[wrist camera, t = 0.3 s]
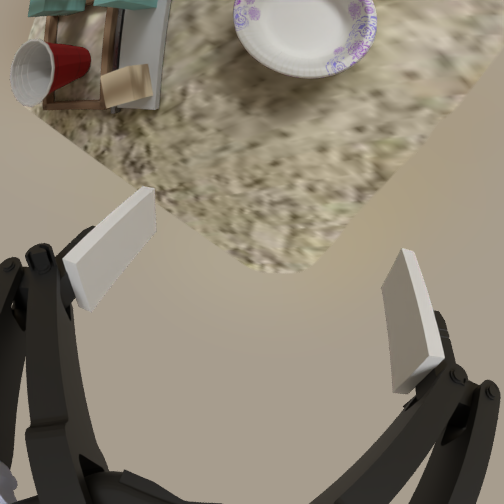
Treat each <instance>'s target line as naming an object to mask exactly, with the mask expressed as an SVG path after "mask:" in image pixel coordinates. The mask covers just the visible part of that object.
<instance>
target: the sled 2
mask: <svg viewBox="0 0 504 504" xmlns="http://www.w3.org/2000/svg"><path fill="white" fill-rule="evenodd" d="M170 5H171V0H94V5H93V6H102V7H112V8H120V9H125V15H124V22H123V30H122V39H121V49H120V61H119V69H121V68H124V67H126V66H132V65H141V64H148V66H149V72H150V78H151V84H152V90H153V96H149V97H145V98H141V99H138V100H134V101H131V102H127V103H124V104H120V105H117V108H135V109H150V110H156V109H159V101H160V88H161V76H162V65H163V56H164V47H165V39H166V31H167V24H168V17H169V11H170Z"/></svg>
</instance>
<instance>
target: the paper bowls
mask: <svg viewBox="0 0 504 504" xmlns="http://www.w3.org/2000/svg"><path fill="white" fill-rule="evenodd" d="M233 21H234V26H235V31H236V34H237V36H238V38H239V40H240V41H241V43H242V45H243V46H244V48H245V49H246V50H247V52H248V53H249V54H250V55H251V56H252V57H253V58H255V59H256V60H257V61H258V62H260V63H261V64H263V65H264V66H266V67H267V68H270V69H272V70H274V71H276V72H278V73H281V74H284V75H287V76H291V77H297V78H306V79H307V78H310V79H312V78H323V77H329V76H333V75H336V74H338V73H341V72H343V71H345V70H347V69H349V68H351V67H352V66H354V65H355V64H356V63H358V62H359V61H360V60H361V59H362V58H363V57H364V56H365V55H366V53H367V52H368V50H369V49H370V47H371V46H372V44H373V41H374V39H375V35H376V30H377V15H376V9H375V6H374V3H373V1H372V0H235V2H234V8H233Z"/></svg>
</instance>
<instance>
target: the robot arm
mask: <svg viewBox="0 0 504 504" xmlns="http://www.w3.org/2000/svg"><path fill="white" fill-rule="evenodd" d="M155 211H156V210H155V188H150V187H145V186H142V187H141V188H140V189H139V190H137V191H136V192H135V193H134V194H133V195H131V196H130V197H129V198H128V199H127V200H126V201H124V202H123V203H122V204H121V205H120V206H118V207H117V208H116V209H115V210H114V211H113V212H111V213H110V214H109V215H108V216H107V217H106V218H105V219H104V220H102V221H101V222H100V223H99V224H98V225H97V226H91V227H89V228H87V229H85V230H83V231H82V232H81V233H80V234H79V235H78V236H77V237H76V238H75V239H73V240H72V241H71V243H69V244H68V245H67V246H66V247H65V248H64V249H63V250H62V251H61V252H60V253H59V254H58V255H57V256H56V257H55V256H54V253H53V250H52V247H51V246H50V245H49V244H46V243H43V244H37V245H35V246H33V247H32V248H30V249H29V250H28V251H27V253H26V255H25V258H26V261H27V263H28V266H29V267H22V264H21V262H20V259H18V258H16V257H12V258H8V259H6V260H4V261H3V262H2V263H1V264H0V504H221V503H201V502H200V503H199V502H188V501H184V500H182V499H180V498H178V497H177V496H175V495H173V494H172V493H170V492H169V491H167V490H165V489H164V488H162V487H161V486H159V485H158V484H156V483H155V482H153V481H150V480H148V479H145V478H143V477H140V476H138V475H136V474H134V473H131V472H129V471H127V470H124V471H123V472H115V471H109V470H108V466H107V464H106V461H105V458H104V456H103V454H102V452H101V451H100V449H99V447H98V445H97V443H96V439H95V435H94V432H93V428H92V424H91V420H90V416H89V412H88V408H87V403H86V398H85V393H84V388H83V384H82V378H81V372H80V367H79V360H78V353H77V345H76V336H75V327H74V316H73V307H72V304H71V302H72V301H73V300H74V299H75V298H76V300H77V303H78V306H79V307H81V308H83V309H85V310H88V311H90V312H92V311H93V310H94V308H95V307H96V306H97V304H98V303H99V302H100V300H101V299H102V298H103V296H104V295H105V294H106V293H107V291H108V290H109V289H110V287H111V286H112V285H113V283H114V282H115V281H116V280H117V278H118V277H119V276H120V275H121V273H122V272H123V271H124V270H125V268H126V267H127V266H128V265H129V263H130V262H131V261H132V260H133V258H134V257H135V256H136V255H137V254H138V252H139V251H140V250H141V249H142V248H143V246H144V245H145V244H146V243H147V242H148V241H149V240H150V238H151V237H152V236H153V235H154V233H155V232H156V212H155ZM381 288H382V294H383V300H384V308H385V315H386V321H387V330H388V339H389V349H390V360H391V372H392V386H393V393H400V394H408V393H410V392H411V391H412V390H413V389H414V388H416V395H415V396H414V397H413V398H412V399H411V400H410V401H409V402H407V403H406V404H405V405H404V406H403V407H404V409H403V411H402V412H401V413H400V414H399V416H398V417H397V418H396V419H395V420H394V422H393V423H392V424H391V425H390V426H389V428H388V429H387V430H386V431H385V432H384V433H383V434H382V436H381V437H380V438H379V439H378V440H377V441H376V442H375V443H374V444H373V445H372V446H371V448H370V449H369V450H368V451H367V452H366V453H365V454H364V455H363V456H362V457H361V458H360V459H359V460H358V461H357V462H356V463H355V464H354V465H353V466H352V467H351V468H350V469H348V470H347V471H346V472H345V473H344V474H343V475H342V476H341V477H340V478H339V479H338V480H337V481H335V482H334V483H333V484H332V485H331V486H330V487H329V488H328V489H326V490H325V491H324V492H323V493H322V494H320V495H319V496H318V497H317V498H316V499H314V500H313V501H312V502H311V503H310V504H389V503H390V502H391V501H392V499H393V498H394V497H395V496H396V495H397V494H398V492H399V491H400V490H401V489H402V487H403V486H404V485H405V484H406V482H407V481H408V480H409V479H410V477H411V476H412V475H413V474H414V472H415V471H416V469H417V468H418V467H419V465H420V464H421V462H422V461H423V460H424V458H425V457H426V456H427V454H428V453H429V451H430V450H431V448H432V446H433V445H434V444H435V445H434V448H433V451H432V453H431V456H430V458H429V461H428V463H427V466H426V468H425V470H424V473H423V475H422V477H421V479H420V482H419V484H418V486H417V488H416V490H415V492H414V494H413V496H412V498H411V500H410V502H409V504H476V502H477V498H478V496H479V493H480V490H481V487H482V484H483V480H484V477H485V474H486V470H487V466H488V462H489V459H490V455H491V450H492V446H493V441H494V436H495V431H496V425H497V420H498V413H499V406H500V391H499V388H498V387H497V385H496V384H495V383H494V382H493V381H491V380H485V381H484V382H483V383H482V384H481V385H477V384H475V383H473V382H471V381H469V380H468V376H467V374H466V372H465V370H464V369H463V368H462V367H461V366H459V365H458V364H456V362H455V358H454V353H453V350H452V345H451V341H450V339H449V334H448V331H447V327H446V323H445V320H444V319H443V317H442V315H441V314H440V312H439V311H434V310H433V308H432V305H431V301H430V298H429V295H428V292H427V288H426V285H425V282H424V279H423V276H422V273H421V270H420V267H419V264H418V262H417V259H416V256H415V253H414V251H411V250H407V249H404V248H401V250H400V252H399V254H398V256H397V258H396V260H395V262H394V264H393V266H392V268H391V270H390V272H389V274H388V276H387V278H386V279H385V281H384V283H383V285H382V287H381ZM12 303H13V305H12ZM11 306H12V308H11ZM25 356H26V377H27V392H28V403H29V412H30V420H31V425H30V427H29V428H27V429H26V432H25V440H26V446H27V452H28V457H29V462H30V467H31V471H32V475H33V479H34V483H35V486H36V490H37V494H38V495H36V496H33V497H30V498H27V499H24V500H21V501H17V500H16V498H15V496H14V492H13V490H15V489H16V488H17V481H16V479H15V477H14V476H12V474H11V471H10V468H11V464H12V458H13V450H14V436H15V424H16V412H17V404H18V397H19V390H20V383H21V377H22V372H23V366H24V361H25ZM435 442H436V443H435Z"/></svg>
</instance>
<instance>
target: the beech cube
mask: <svg viewBox="0 0 504 504" xmlns="http://www.w3.org/2000/svg"><path fill="white" fill-rule="evenodd" d="M100 78H101V84H102V89H103V95H104V100H105V105H106V109H107V108H110V107H113V106H117V105H120V104H124V103H127V102H131V101H134V100H138V99H141V98H145V97H149V96H153V90H152V84H151V78H150V72H149V66H148V64H141V65H132V66H126V67H124V68H121V69H118V70H115V71H112V72H110V73H107V74H104V75H102V76H100Z"/></svg>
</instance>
